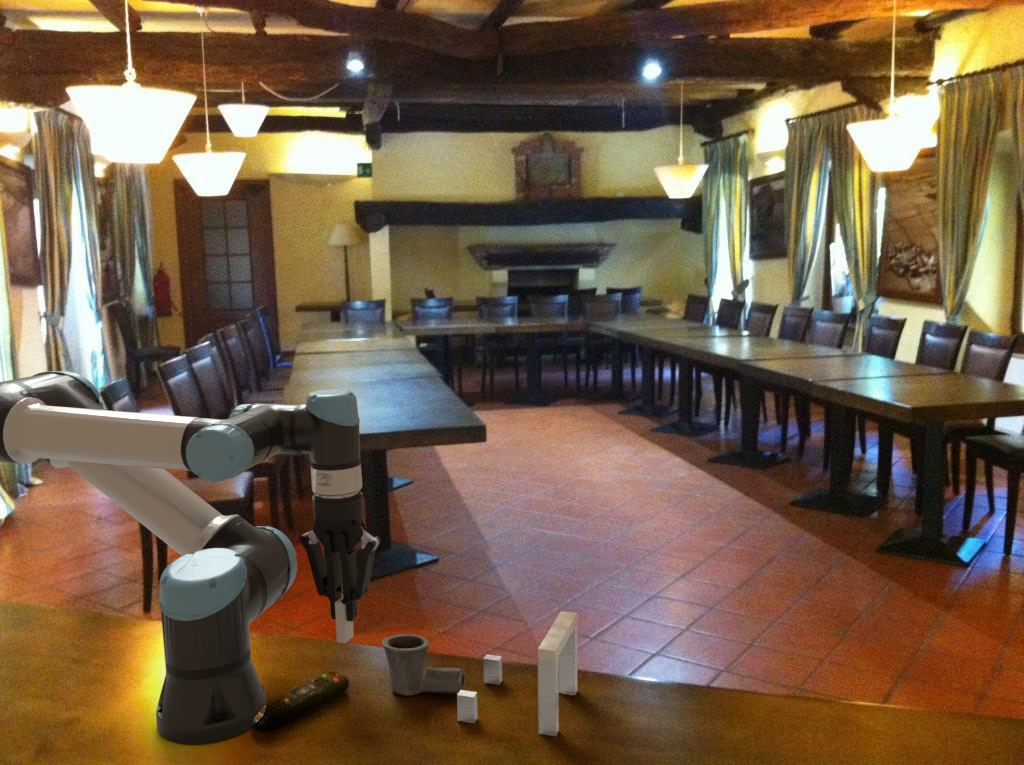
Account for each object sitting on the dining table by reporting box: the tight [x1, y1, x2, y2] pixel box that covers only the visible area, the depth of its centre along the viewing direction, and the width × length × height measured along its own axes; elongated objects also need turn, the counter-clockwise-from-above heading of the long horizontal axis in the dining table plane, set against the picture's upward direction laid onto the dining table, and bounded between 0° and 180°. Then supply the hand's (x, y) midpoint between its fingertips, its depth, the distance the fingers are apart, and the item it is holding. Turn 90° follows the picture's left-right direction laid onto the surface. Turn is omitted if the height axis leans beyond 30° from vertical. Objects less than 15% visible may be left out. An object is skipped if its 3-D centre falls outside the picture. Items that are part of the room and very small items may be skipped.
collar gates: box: [456, 610, 578, 737], centre depth 129 cm, size 14×13×12 cm
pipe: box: [381, 633, 466, 697], centre depth 134 cm, size 6×13×8 cm, turn 78°
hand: (345, 638), depth 137 cm, fingers closed
